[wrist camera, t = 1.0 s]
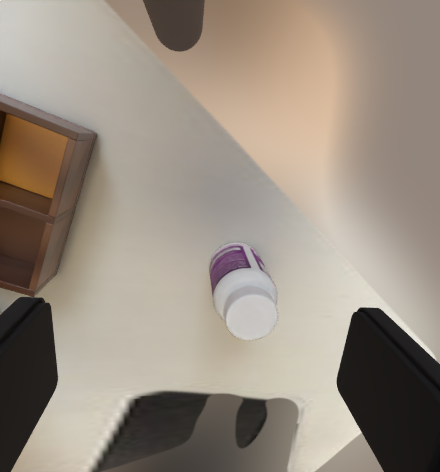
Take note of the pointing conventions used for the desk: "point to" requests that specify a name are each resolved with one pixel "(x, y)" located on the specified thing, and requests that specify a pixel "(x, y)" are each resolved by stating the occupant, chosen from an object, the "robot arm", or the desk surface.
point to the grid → (37, 191)
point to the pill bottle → (243, 291)
